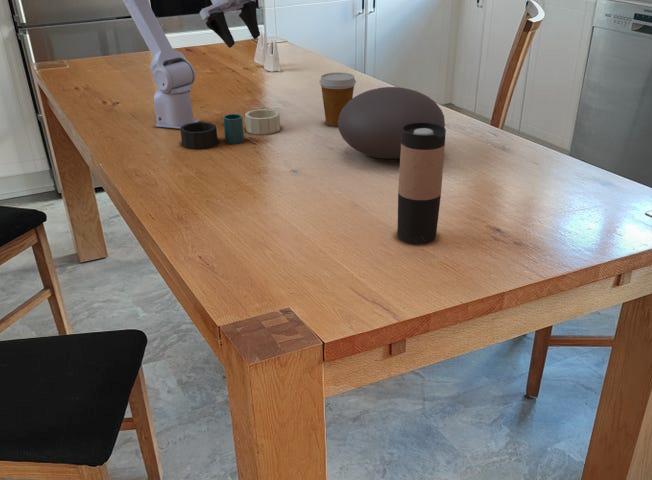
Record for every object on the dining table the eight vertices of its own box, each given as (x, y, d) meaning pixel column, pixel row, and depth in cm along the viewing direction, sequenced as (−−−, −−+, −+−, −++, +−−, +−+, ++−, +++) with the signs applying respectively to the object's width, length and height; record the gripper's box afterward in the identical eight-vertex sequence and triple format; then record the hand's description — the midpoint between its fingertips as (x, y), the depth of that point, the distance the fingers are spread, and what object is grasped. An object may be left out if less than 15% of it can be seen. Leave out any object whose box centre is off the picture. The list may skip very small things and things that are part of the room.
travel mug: (392, 229, 137) (397, 122, 126) (432, 227, 137) (440, 121, 126) (399, 246, 131) (405, 136, 119) (441, 244, 131) (451, 134, 120)
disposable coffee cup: (352, 129, 189) (352, 81, 182) (316, 127, 190) (315, 80, 183) (357, 118, 196) (358, 72, 189) (323, 117, 198) (323, 71, 191)
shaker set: (253, 66, 249) (251, 31, 243) (264, 64, 251) (262, 30, 244) (271, 73, 241) (269, 37, 234) (281, 71, 242) (280, 35, 236)
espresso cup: (222, 142, 181) (220, 118, 177) (230, 137, 184) (228, 113, 181) (239, 144, 180) (237, 120, 176) (247, 138, 183) (245, 114, 180)
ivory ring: (240, 132, 188) (239, 117, 185) (254, 123, 194) (253, 107, 192) (271, 135, 185) (271, 120, 183) (284, 126, 192) (284, 110, 189)
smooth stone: (384, 131, 186) (386, 71, 178) (463, 153, 172) (469, 88, 163) (316, 154, 172) (315, 90, 164) (396, 180, 158) (399, 111, 149)
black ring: (175, 147, 179) (173, 130, 176) (192, 136, 185) (191, 120, 183) (207, 150, 176) (205, 134, 174) (223, 139, 183) (222, 123, 181)
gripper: (198, -18, 158) (227, 41, 161) (249, -32, 165) (276, 25, 168) (186, -2, 164) (214, 55, 167) (235, -16, 171) (262, 39, 174)
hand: (244, 41), depth 168 cm, fingers open, 7 cm apart
